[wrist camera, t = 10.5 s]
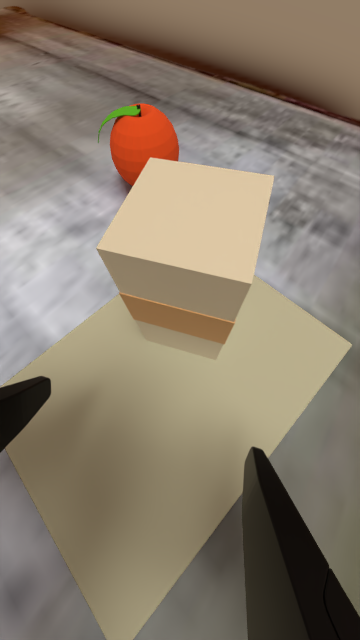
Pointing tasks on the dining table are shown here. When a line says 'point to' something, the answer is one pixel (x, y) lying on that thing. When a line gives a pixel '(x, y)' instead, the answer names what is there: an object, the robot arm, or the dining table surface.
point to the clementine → (140, 139)
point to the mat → (159, 442)
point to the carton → (187, 251)
